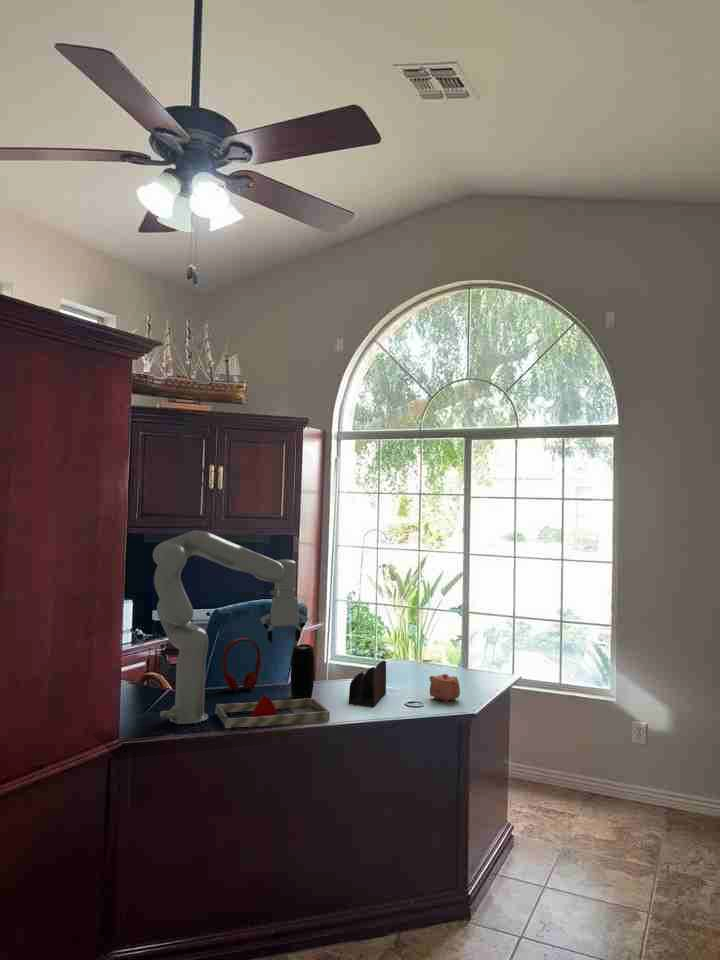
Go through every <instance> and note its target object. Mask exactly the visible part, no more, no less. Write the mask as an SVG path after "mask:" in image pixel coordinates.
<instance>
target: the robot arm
mask: <svg viewBox="0 0 720 960" xmlns="http://www.w3.org/2000/svg"><path fill="white" fill-rule="evenodd" d="M193 556H198V557H201V558H204V559H206V560H208V561H210V562H214V563H216V564H218V565H220V566H223V567H226V568H227V569H228V568H229V569H231V570H234V571H237V572H238V571H239V572H242V573H245V574H246V573H247V574H249V575H253V576H254V577H255V578H256V579H258V580H260V581H264V582H268V583H273V584H274V589H273V590H270V595H271V596H272V595H273V597H272V598H271V599H272V600H271V603H270V605H271V606H270V613H268V614H266V615H264V616H262V617H260V618H259V619H260V622H261V624H262V626H263V627H264V628H265V629H266V630H267V636H266V637H267V640H268V642H269V643H272V642H273V631H272V630H273V629H274V627H295V629H294V630H295V633H294V634H295V635H294V640H295V641H296V642H298V643H299V642H300V641H299V640H300V639H301V631H302V630H303V628H304V627H305V626H306V624H307V622H308V620H309V618H308V617H307V616H305V615H304V614H302V613H300V612H299V611H300V608H299V600H298V599H299V598H298V597H296V587H297V586H296V582H297V578H296V577H297V563H296V561H295V560H293V559H276V560H275V559H273V558H270V557H268V556H265V555H263V554H261V553H258V552H255V551H252V550H251V549H248V548H246V547H244V546H241V545H239V544H237V543H234V542H232V541H229V540H227V539H225V538H223V537H221V536H218V535H216V534H215V533H214V534H213V533H211V532H208V531H206V530H205V531H203V530H191V531H188V532H185V533H183V534H180V535H178V536H175V537H173V538H170V539H168V540H164V541H162V542H161V543H159V544H157V545H156V546H155V548H154V549H153V551H152V558H153V562H154V563H155V564H156V565H157V567H156V569H155V571H154V575H153V577H154V578H153V585H154V589H155V591H156V593H157V596H158V599H159V600H158V601H157V605H156V613H157V616H158V620H159V622H160V624H161V625H162V628H163V631H164V633H165V634H166V637H167V639H168V641H169V642H170V644H171V645H172V646H173V647H174V648H176V649H177V650H179V651H178V656H177V661H176V671H175V675H176V676H175V699H174V705H172V706H171V707H172V708H170V709H169V710H160V713H159V715H160V717H161V718H166V717H167V719H168V718H169V721H170V723H172V722H174V723H177V724H176V725H179V724H189V723H197V722H202V721H205V720H207V719H208V720H209V715H208V713H205V691H206V690H205V687H206V686H205V685H206V662H207V661H206V660H207V653H208V649H209V636H208V633H207V632H206V630H205V629H204V628H202V626H201V627H200V626H199V625H197V624H194V623H192V619H193V617H194V608H193V606H192V603H191V601H190V599H189V597H188V595H187V592H186V590H185V588H184V585H183V583H182V579H181V575H182V572H183V569H184V567H185V566H186V564H187V562H188V559H189V558H191V557H193ZM268 619H269V624H267V622H266V621H267V620H268ZM300 619H302V621H301V623H300ZM299 623H300V624H299ZM208 720H207V721H208ZM174 723H173V724H174Z"/></svg>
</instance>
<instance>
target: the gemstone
mask: <svg viewBox="0 0 720 960" xmlns="http://www.w3.org/2000/svg"><path fill="white" fill-rule="evenodd" d="M271 701H272V700H271V699H270V698H268V696H266V695H265V694H263V695H261V696H260V697H259V699H258V701H257V702H258V703H257V705H256V707H255V709H254V711H253V712H251V715H250V717H261V716H273V715H278V712H277V710H276V708H275V706H274V705H273V703H272V702H271Z"/></svg>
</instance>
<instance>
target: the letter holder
mask: <svg viewBox="0 0 720 960" xmlns="http://www.w3.org/2000/svg"><path fill="white" fill-rule="evenodd" d="M348 690H349V692H348V693H349V694H348V705H349V704H353V705H352V706H358V705H360V706H361V707H369V708H375V707H376V706H377V704H378V703H379V702H380V701H381V700H382V699H383V697H385V695H386V694H387V661H386V660H381V661H380V662H379V663H378V664H377V665H376V666H375V667H374V666H372V667H370V668H368V669H367V670H366V671H365V672H363V671H361V672H359V673H358V674H356V676H354V677H353V678H352V680H351V682H350V683H349V689H348ZM360 706H359V707H360Z"/></svg>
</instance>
